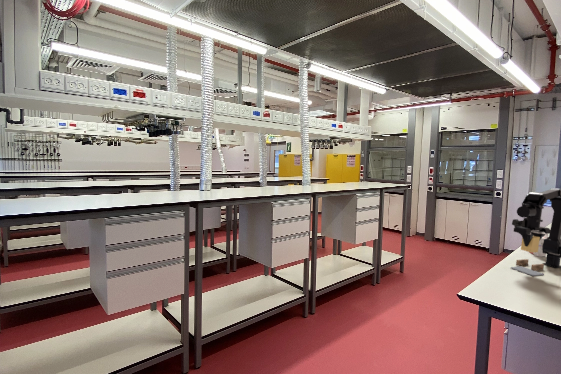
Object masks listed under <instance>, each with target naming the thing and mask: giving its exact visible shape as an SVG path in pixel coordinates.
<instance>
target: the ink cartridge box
mask: <svg viewBox="0 0 561 374" xmlns="http://www.w3.org/2000/svg"><path fill="white" fill-rule="evenodd" d="M543 234H546V233H544V232H543ZM548 237H549V234H546V235H544V236H543V237H542V238H541V239H540V241H539V247H538V252H529V253H530V254H532V255H534V256H536V257H541V256H545V257H544V258H546V257H547V254H545V253H543V250H542V245H543V243H544V239H547V238H548Z"/></svg>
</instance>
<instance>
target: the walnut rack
mask: <svg viewBox="0 0 561 374" xmlns="http://www.w3.org/2000/svg"><path fill="white" fill-rule="evenodd" d="M527 265H529V259H528V258H524V259H523V258H522V259H516V261H515V266H516V267H519V266H527ZM544 268H545V265H544V264H542V263H536V264H535V263H534V264H531V267H530V269H531V270H534V271H542V270H544Z"/></svg>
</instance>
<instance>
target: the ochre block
mask: <svg viewBox="0 0 561 374" xmlns="http://www.w3.org/2000/svg"><path fill="white" fill-rule="evenodd" d="M539 240H540V237H537V236H533V237H532V239H531V241H530V243H529V245H528V246H527V247H526V246H525V244H524V241H523V238H521V245H520V250H521V251H525V252H528V253H530V252H538V247H539Z"/></svg>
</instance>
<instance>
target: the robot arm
mask: <svg viewBox="0 0 561 374" xmlns="http://www.w3.org/2000/svg"><path fill="white" fill-rule="evenodd" d="M548 200H549V201H550V206H551V208H552V210H553V214H552V220H551V225H550V228H549V227H546V226H542V225H541V223H542V222H544V220H543V219H542V213H543V209H545V206H544V205H545V204H547V202H548ZM516 214H517V216H519V217H520V218H523V219H522V220H519V219H518V218H517V219H515V218H514V219H512V222H511V225H512V226H514V227H513V232H514V233H518V234H520V236H521V237H522V238H523V241H524V244H525V246H526V247H527V246H528V245H529V243H530V241H531V239H532V237H533V236H537V237H540V239H541V238H542V237H543V236H544V235H546V234H548V238H547V239H544V243H543V245H542V250H543V253H545V254H546V257H545V262H542V263H541V264H544V266H548V267H551V268H555V269H559V268H561V188H554V187H553V188H550V189H547V190H544V191H540V192H534V191H533V192H532V191H531V192H528V194H527V195H525V197H524V199H523V200H522V202H521V206H519V207H518V208H517V209H516ZM543 232H544V233H546V234H543ZM522 238H521V239H522ZM539 241H540V240H539Z"/></svg>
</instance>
